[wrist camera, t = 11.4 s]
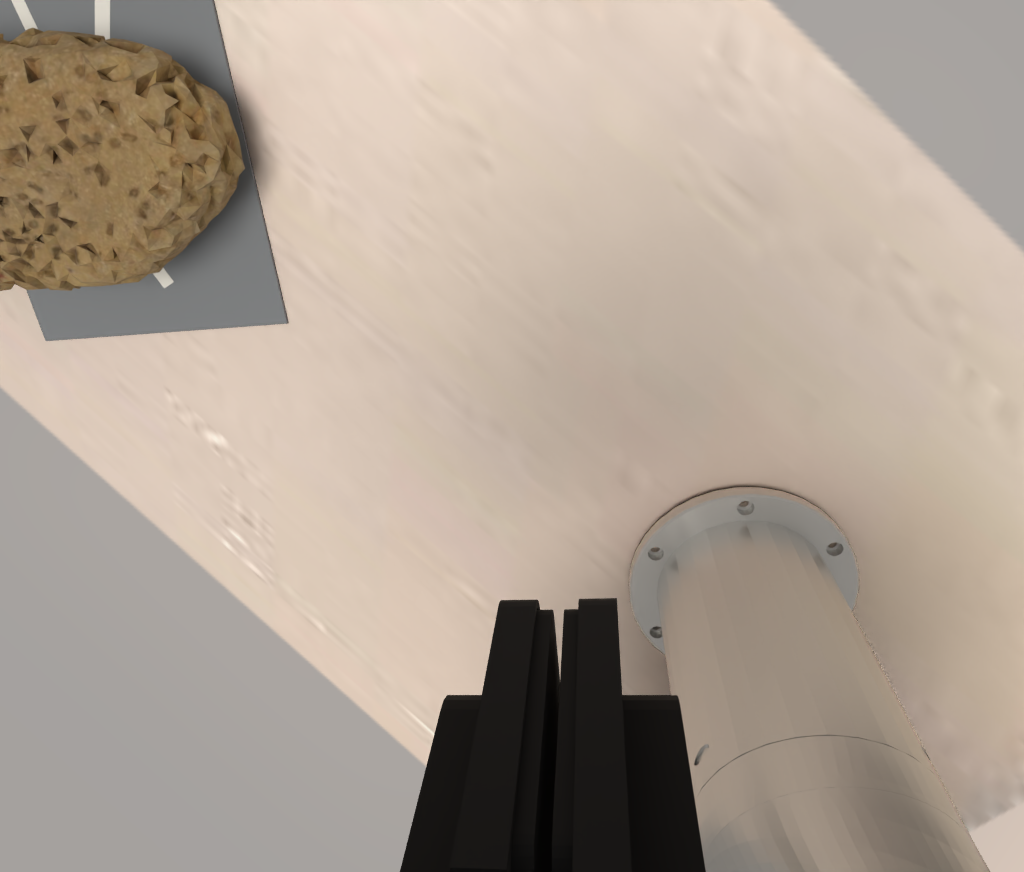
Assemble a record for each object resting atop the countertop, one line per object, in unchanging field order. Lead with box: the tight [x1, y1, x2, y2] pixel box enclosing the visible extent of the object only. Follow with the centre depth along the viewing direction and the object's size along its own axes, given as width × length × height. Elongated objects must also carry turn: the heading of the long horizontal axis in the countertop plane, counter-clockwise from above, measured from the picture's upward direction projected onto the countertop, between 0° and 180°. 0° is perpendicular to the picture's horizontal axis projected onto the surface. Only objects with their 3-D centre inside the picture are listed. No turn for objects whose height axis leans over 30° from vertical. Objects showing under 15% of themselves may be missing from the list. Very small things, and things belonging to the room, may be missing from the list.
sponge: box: [0, 28, 245, 291], centre depth 31 cm, size 13×8×20 cm
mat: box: [0, 0, 288, 341], centre depth 33 cm, size 24×14×1 cm, turn 6°
